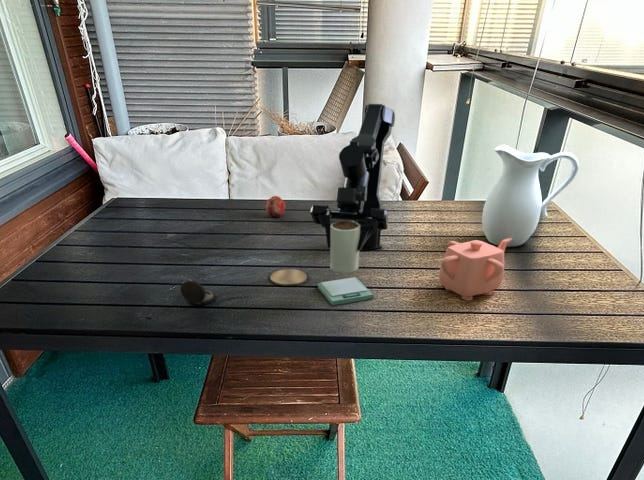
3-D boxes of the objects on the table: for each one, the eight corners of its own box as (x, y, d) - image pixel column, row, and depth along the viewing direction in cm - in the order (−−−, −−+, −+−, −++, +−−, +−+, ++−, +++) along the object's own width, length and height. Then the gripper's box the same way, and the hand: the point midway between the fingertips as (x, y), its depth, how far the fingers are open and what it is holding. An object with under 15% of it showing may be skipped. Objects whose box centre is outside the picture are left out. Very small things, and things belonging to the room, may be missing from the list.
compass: (218, 295, 124) (214, 269, 120) (205, 309, 118) (201, 282, 114) (189, 292, 126) (185, 266, 122) (175, 306, 119) (170, 279, 115)
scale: (356, 281, 131) (356, 276, 130) (373, 298, 122) (373, 292, 121) (317, 287, 128) (317, 282, 127) (332, 305, 119) (332, 299, 118)
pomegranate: (271, 218, 184) (256, 207, 176) (279, 200, 184) (265, 188, 175) (285, 224, 181) (271, 213, 172) (294, 206, 180) (280, 194, 172)
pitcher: (474, 246, 152) (491, 151, 137) (481, 229, 165) (497, 141, 150) (556, 256, 145) (584, 157, 129) (556, 238, 158) (582, 146, 142)
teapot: (435, 300, 121) (442, 249, 114) (439, 275, 134) (446, 228, 127) (505, 307, 118) (517, 256, 110) (502, 281, 130) (513, 233, 123)
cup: (352, 259, 126) (353, 219, 120) (363, 270, 120) (365, 228, 114) (326, 263, 124) (326, 222, 118) (336, 274, 118) (336, 232, 112)
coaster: (300, 268, 138) (300, 267, 138) (311, 282, 130) (311, 280, 130) (266, 273, 136) (266, 272, 135) (275, 288, 128) (275, 286, 127)
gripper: (311, 169, 115) (299, 230, 112) (390, 174, 111) (378, 237, 108) (320, 194, 126) (309, 250, 123) (392, 199, 121) (382, 257, 119)
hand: (343, 248), depth 118 cm, fingers closed on cup, 7 cm apart
